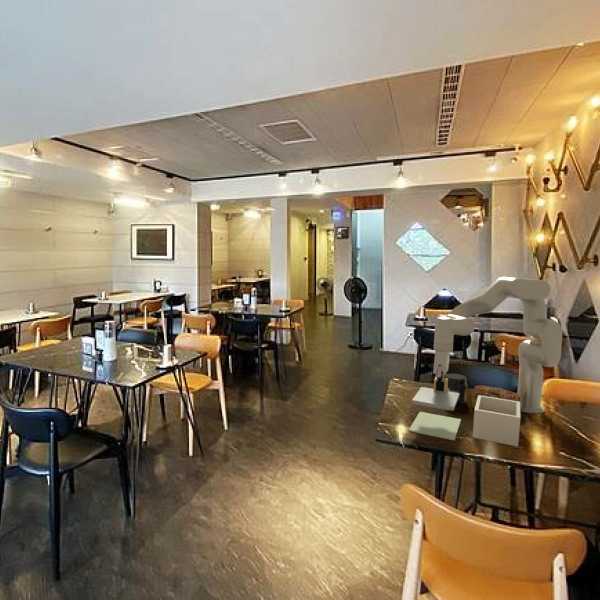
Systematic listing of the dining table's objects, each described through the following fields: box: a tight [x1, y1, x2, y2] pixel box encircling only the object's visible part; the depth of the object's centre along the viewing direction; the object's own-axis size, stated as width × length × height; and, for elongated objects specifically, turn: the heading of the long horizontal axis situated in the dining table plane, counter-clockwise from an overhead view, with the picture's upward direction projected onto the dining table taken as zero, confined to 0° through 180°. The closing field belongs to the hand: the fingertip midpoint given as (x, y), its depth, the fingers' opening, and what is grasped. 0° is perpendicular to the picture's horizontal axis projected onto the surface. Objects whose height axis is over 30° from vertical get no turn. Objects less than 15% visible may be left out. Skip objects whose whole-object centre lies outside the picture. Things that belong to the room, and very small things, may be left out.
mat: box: [408, 411, 462, 441], centre depth 167 cm, size 21×17×1 cm
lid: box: [411, 376, 460, 412], centre depth 166 cm, size 21×15×7 cm
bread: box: [471, 384, 520, 409], centre depth 185 cm, size 19×11×10 cm, turn 55°
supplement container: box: [446, 373, 468, 405], centre depth 195 cm, size 10×10×12 cm
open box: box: [472, 395, 521, 447], centre depth 161 cm, size 18×15×11 cm
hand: (440, 388), depth 174 cm, fingers closed on lid, 4 cm apart
